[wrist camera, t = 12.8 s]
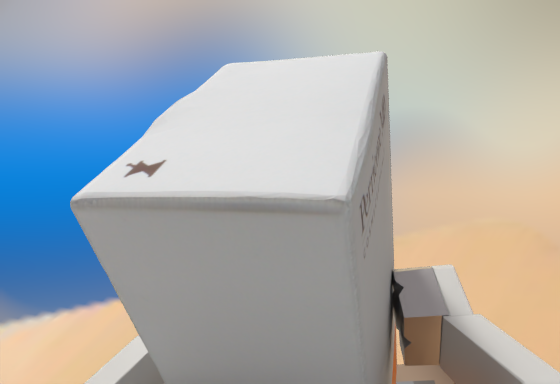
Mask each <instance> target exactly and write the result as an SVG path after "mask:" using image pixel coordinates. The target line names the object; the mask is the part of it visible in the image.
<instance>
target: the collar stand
mask: <svg viewBox="0 0 560 384" xmlns="http://www.w3.org/2000/svg"><path fill="white" fill-rule="evenodd" d="M396 384H455V383H454V382H453V381H452V379H451V378H450V377H449V376H448V375H447V374H446V373H445V372H444V371H443V370H442V369H441V368H440V365H420V366H405V364H402V365H397V379H396Z"/></svg>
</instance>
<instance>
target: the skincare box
mask: <svg viewBox="0 0 560 384" xmlns="http://www.w3.org/2000/svg"><path fill="white" fill-rule="evenodd" d="M70 204H71V209H72V211H73V213H74V215H75V217H76V218H77V220H78V222H79V224H80V226H81V228H82V229H83V231H84V233H85V235H86V237H87V239H88V241H89V243H90V244H91V246H92V248H93V250H94V252H95V254H96V256H97V257H98V259H99V261H100V263H101V265H102V267H103V268H104V270H105V272H106V273H107V275H108V277H109V279H110V281H111V283H112V285H113V287H114V289H115V291H116V293H117V294H118V296H119V298H120V300H121V302H122V304H123V306H124V308H125V309H126V311H127V313H128V315H129V317H130V319H131V321H132V322H133V324H134V326H135V328H136V330H137V332H138V334H139V336H140V338H141V340H142V342H143V343H144V345H145V347H146V349H147V351H148V353H149V354H150V356H151V358H152V360H153V362H154V363H155V365H156V367H157V369H158V371H159V373H160V375H161V377H162V379H163V381H164V383H165V384H396V379H397V356H396V323H395V317H394V311H393V291H394V289H393V285H392V270H394V248H393V217H392V184H391V153H390V124H389V95H388V69H387V55H386V53H384V52H382V51H379V52H369V53H357V54H344V55H332V56H322V57H310V58H298V59H287V60H273V61H260V62H245V63H231V64H227V65H225V66H223V67H222V68H221V69H220V70H219V71H218V72H216V73H215V74H214V75H213V76H212V77H211V78H210V79H208V81H206V82H205V83H204V84H203V85H201V86H200V87H199V88H198V89H197V90H196V91H194V92H193V93H191V94H189V95H187V96H185V97H183V98H182V99H180V100H178V101H177V102H175V103H174V104H173V105H172V106H171V107H170V108H169V109H168V110H166V111H165V112H164V113H163V114H162V115H160V116H159V117H158V118H157V119H156V120H155V121H154V122H153V124H152V125H151V126H150V128H149V129H148V130H147V132H146V133H145V134H144V135H143V137H142V138H141V139H140V140H138V141H137V142H136V143H135V144H134V145H133V146H132V147H131V148H129V149H128V150H127V151H126V152H125V153H124V154H123V155H122V156H121V157H119V158H118V159H117V160H116V161H115V162H113V163H112V164H111V165H110V166H108V167H107V168H106V169H105V170H104V171H103V172H102V173H100V174H99V175H98V176H97V177H96V178H95V179H94V180H92V181H91V182H90V183H89V184H88V185H86V186H85V187H84V188H83V189H82V190H81V191H80V192H78V193H77V194H76V195H75V196H74V197H73V198H72V200H71V202H70Z"/></svg>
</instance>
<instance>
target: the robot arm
mask: <svg viewBox="0 0 560 384" xmlns="http://www.w3.org/2000/svg"><path fill="white" fill-rule="evenodd" d="M392 285H393V289H394V291H393V311H394V317H395V323H396V328H397V329H398V330H399V336H400V346H401V351H402V355H403V360H404V364H405V366H420V365H440V368H441V369H442V370H443V371H444V372H445V373H446V374H447V375H448V376H449V377H450V378H451V379H452V381H453V382H454V383H455V384H560V373H559V372H558V371H556V370H555V369H554V368H552V367H551V366H550V365H548V364H547V363H546V362H544V361H543V360H542V359H540V358H539V357H537V356H536V355H535V354H533V353H532V352H531V351H529V350H528V349H527V348H525V347H524V346H523V345H521V344H520V343H518V342H517V341H516V340H514V339H513V338H512V337H510V336H509V335H508V334H506V333H505V332H504V331H502V330H501V329H499V328H498V327H497V326H495V325H494V324H493V323H491V322H490V321H489V320H487V319H486V318H485V317H483V316H482V315H480V314H473V312H472V309H471V307H470V304H469V302H468V299H467V297H466V295H465V292H464V290H463V287H462V285H461V283H460V280H459V278H458V275H457V273H456V271H455V268H454V267H453V266H452V265H440V266H431V267H430V266H429V267H418V268H407V269H395V270H392ZM84 384H165V383H164V381H163V379H162V377H161V375H160V373H159V371H158V369H157V367H156V365H155V363H154V362H153V360H152V358H151V356H150V354H149V353H148V351H147V349H146V347H145V345H144V343H143V342H142V340H141V338H140V336H137V337H135V338H134V339H133V340H132V341H131V342H130V343H129V344H128V345H127V346H125V347H124V348H123V349H122V350H121V351H120V352H119V353H118V354H117V355H115V356H114V357H113V358H112V359H111V360H110V361H109V362H108V363H107V364H105V365H104V366H103V367H102V368H101V369H100V370H99V371H98V372H96V373H95V374H94V375H93V376H92V377H91V378H90V379H89V380H88V381H86V382H85V383H84Z"/></svg>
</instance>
